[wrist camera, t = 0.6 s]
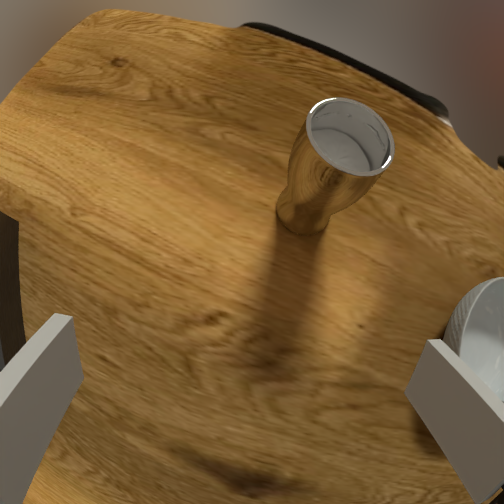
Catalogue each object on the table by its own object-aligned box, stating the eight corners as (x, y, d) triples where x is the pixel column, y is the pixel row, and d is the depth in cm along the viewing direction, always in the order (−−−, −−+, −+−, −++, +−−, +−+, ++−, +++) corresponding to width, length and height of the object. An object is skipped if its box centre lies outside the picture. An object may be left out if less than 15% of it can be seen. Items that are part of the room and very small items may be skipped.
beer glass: (276, 243, 32) (314, 180, 18) (267, 182, 34) (293, 93, 19) (338, 237, 33) (409, 178, 18) (326, 179, 35) (380, 98, 20)
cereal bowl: (424, 282, 33) (461, 273, 26) (503, 286, 34) (537, 278, 27) (415, 420, 29) (449, 435, 22) (497, 398, 30) (530, 403, 23)
